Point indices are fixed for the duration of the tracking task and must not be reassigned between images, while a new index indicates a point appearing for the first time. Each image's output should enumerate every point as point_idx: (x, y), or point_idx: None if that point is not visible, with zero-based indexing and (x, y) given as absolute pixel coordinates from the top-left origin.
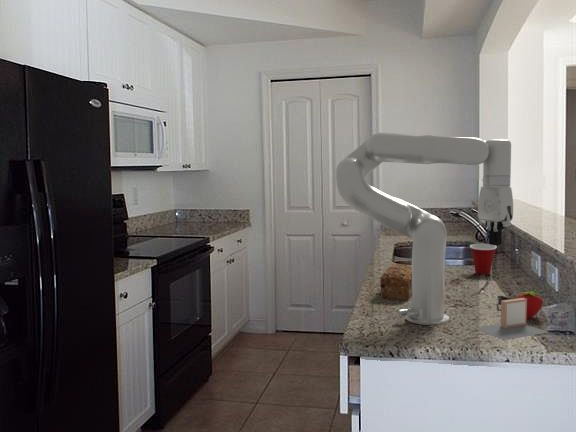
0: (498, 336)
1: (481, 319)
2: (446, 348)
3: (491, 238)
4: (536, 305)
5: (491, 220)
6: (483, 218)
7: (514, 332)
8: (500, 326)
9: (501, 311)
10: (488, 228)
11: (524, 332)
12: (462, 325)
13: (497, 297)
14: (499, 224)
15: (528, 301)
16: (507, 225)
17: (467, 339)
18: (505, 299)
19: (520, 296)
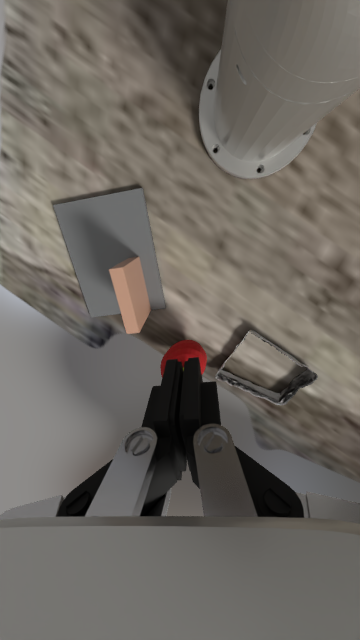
0: (74, 207)
1: (213, 260)
2: (13, 17)
3: (183, 384)
4: (161, 361)
5: (90, 523)
6: (264, 544)
7: (97, 257)
8: (140, 257)
9: (128, 262)
10: (227, 445)
11: (94, 276)
12: (184, 187)
13: (315, 373)
14: (79, 507)
15: (167, 354)
16: (4, 514)
17: (79, 129)
18: (302, 382)
19: (187, 354)
